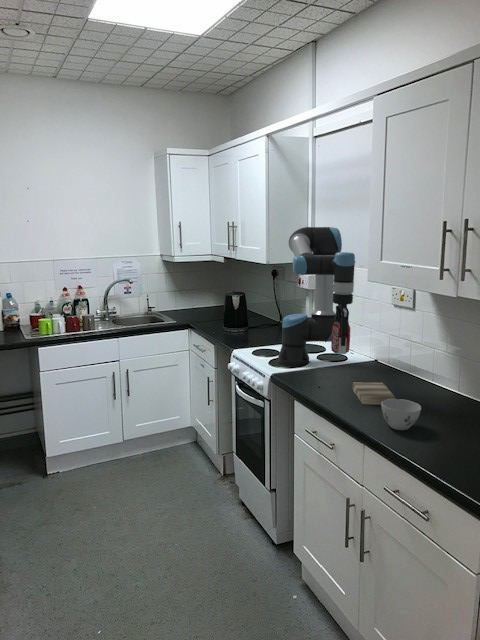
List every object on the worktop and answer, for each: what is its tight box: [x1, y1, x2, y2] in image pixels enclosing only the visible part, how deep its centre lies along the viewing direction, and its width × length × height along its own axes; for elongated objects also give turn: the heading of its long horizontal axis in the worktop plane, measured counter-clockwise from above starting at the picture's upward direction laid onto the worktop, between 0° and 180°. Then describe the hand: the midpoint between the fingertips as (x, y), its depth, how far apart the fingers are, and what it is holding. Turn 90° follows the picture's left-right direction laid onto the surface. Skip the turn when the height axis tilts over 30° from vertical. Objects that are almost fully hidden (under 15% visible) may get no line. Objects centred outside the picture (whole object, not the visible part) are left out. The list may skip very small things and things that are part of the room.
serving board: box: [352, 381, 396, 405], centre depth 195 cm, size 17×12×3 cm
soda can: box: [330, 321, 351, 355], centre depth 195 cm, size 7×7×12 cm
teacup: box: [380, 398, 422, 431], centre depth 166 cm, size 15×12×8 cm
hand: (340, 351), depth 196 cm, fingers closed on soda can, 7 cm apart
